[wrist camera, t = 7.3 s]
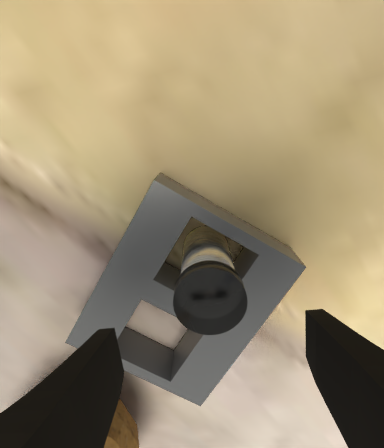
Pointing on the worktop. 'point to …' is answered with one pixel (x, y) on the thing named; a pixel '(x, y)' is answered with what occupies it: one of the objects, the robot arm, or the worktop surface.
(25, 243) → the worktop surface
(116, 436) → the potato
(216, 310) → the jar
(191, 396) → the socket strip
